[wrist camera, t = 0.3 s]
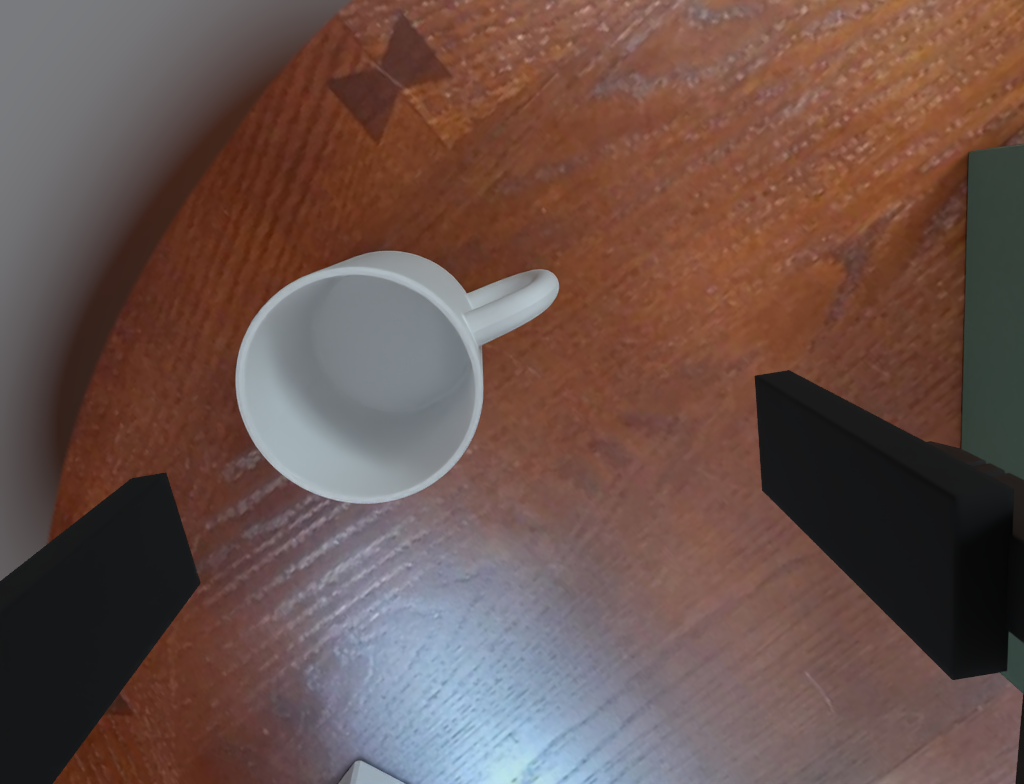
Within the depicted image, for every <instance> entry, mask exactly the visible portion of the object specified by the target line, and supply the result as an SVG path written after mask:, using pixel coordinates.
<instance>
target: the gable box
mask: <svg viewBox="0 0 1024 784" xmlns="http://www.w3.org/2000/svg"><path fill="white" fill-rule="evenodd" d="M338 784H405V783H403V782H401V781H399V780H397V779H395V778H393V777H392V776H390V775H388V774H386V773H384V772H382V771H380V770H378V769H376V768H374V767H372V766H371V765H369V764H367V763H365V762H363V761H361V760H358V761H355V762H354V764H353V765H352V766H351V768H350V769H349V770H348V771H347V773H346V774H345V775H344V777H343V778H342V779H341V781H340V782H339V783H338Z"/></svg>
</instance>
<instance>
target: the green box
mask: <svg viewBox="0 0 1024 784" xmlns="http://www.w3.org/2000/svg"><path fill="white" fill-rule="evenodd" d="M961 449H963V450H965V451H967V452H969V453H971V454H973V455H975V456H977V457H979V458H981V459H983V460H985V461H986V464H988V463H991V464H993V465H995V466H997V467H999V468H1001V469H1003V470H1004V471H1005V474H1006V473H1011V474H1013V475H1015V476H1017V477H1019V478H1021V479H1023V480H1024V144H1019V145H1011V146H1003V147H996V148H989V149H983V150H976V151H971V152H969V161H968V201H967V242H966V282H965V322H964V362H963V402H962V442H961ZM1000 673H1001V674H1002V675H1003V676H1004V677H1005V678H1006V679H1007V680H1009V681H1010V682H1011V683H1012V684H1013V685H1014V686H1015V687H1017V688H1018V689H1019V690H1020V691H1021V692H1022V693H1023V692H1024V643H1023V642H1021V641H1020V640H1019V639H1018V638H1016V637H1015V636H1014V635H1013V634H1011V633H1010V632H1009V637H1008V663H1007V671H1004V672H1000Z"/></svg>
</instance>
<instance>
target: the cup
mask: <svg viewBox="0 0 1024 784" xmlns="http://www.w3.org/2000/svg"><path fill="white" fill-rule="evenodd" d="M558 290H559V283H558V279H557V278H556V276H555V275H554V274H553V273H552V272H550V271H548V270H543V269H536V270H531V271H527V272H523V273H519V274H516V275H513V276H510V277H507V278H505V279H502V280H499V281H497V282H494V283H492V284H489V285H487V286H484V287H482V288H479V289H477V290H474V291H472V292H469V293H466V291H465V290H464V289H463V287H462V286H461V285H460V284H459V282H458V281H457V280H456V279H455V278H454V277H453V276H452V275H451V274H450V273H448V272H447V271H446V270H445V269H443V268H442V267H440V266H439V265H438V264H436V263H434V262H432V261H430V260H428V259H426V258H423V257H421V256H418V255H415V254H411V253H406V252H400V251H377V252H371V253H366V254H363V255H359V256H356V257H353V258H351V259H348V260H345V261H343V262H340V263H337V264H335V265H332V266H330V267H327V268H324V269H322V270H319V271H316V272H314V273H311V274H309V275H306V276H304V277H302V278H299V279H298V280H296V281H294V282H292V283H290V284H289V285H287V286H286V287H284V288H283V289H281V290H280V291H279V292H277V293H276V294H275V295H274V296H273V297H272V298H270V299H269V301H268V302H267V303H266V304H265V305H264V306H263V307H262V308H261V309H260V311H259V312H258V313H257V315H256V316H255V317H254V319H253V321H252V322H251V324H250V326H249V327H248V329H247V332H246V334H245V336H244V338H243V341H242V344H241V347H240V350H239V354H238V359H237V365H236V395H237V401H238V406H239V410H240V413H241V416H242V419H243V422H244V424H245V427H246V429H247V431H248V433H249V435H250V437H251V439H252V440H253V442H254V444H255V445H256V447H257V448H258V450H259V451H260V452H261V453H262V455H263V456H264V457H265V458H266V460H267V461H268V462H269V463H270V464H271V465H272V466H273V467H274V468H275V469H276V470H278V471H279V472H280V473H281V474H282V475H283V476H285V477H286V478H288V479H289V480H290V481H292V482H293V483H295V484H297V485H298V486H300V487H302V488H304V489H306V490H308V491H310V492H312V493H314V494H317V495H320V496H322V497H325V498H329V499H333V500H336V501H342V502H348V503H359V504H368V503H381V502H387V501H393V500H397V499H400V498H404V497H407V496H409V495H412V494H414V493H417V492H418V491H420V490H422V489H424V488H426V487H428V486H429V485H431V484H433V483H434V482H436V481H437V480H438V479H440V478H441V477H442V476H443V475H445V474H446V473H447V472H448V471H449V470H450V469H451V468H452V467H453V466H454V465H455V464H456V462H457V461H458V460H459V459H460V458H461V456H462V455H463V453H464V452H465V450H466V449H467V447H468V445H469V444H470V442H471V440H472V438H473V436H474V433H475V431H476V428H477V425H478V422H479V419H480V415H481V410H482V403H483V363H482V345H483V344H485V343H487V342H489V341H492V340H494V339H496V338H498V337H500V336H502V335H504V334H506V333H508V332H510V331H512V330H514V329H516V328H518V327H520V326H522V325H524V324H525V323H527V322H529V321H530V320H532V319H534V318H535V317H537V316H538V315H540V314H541V313H542V312H544V311H545V310H546V309H547V308H548V307H549V306H550V305H551V304H552V303H553V301H554V300H555V298H556V297H557V295H558Z"/></svg>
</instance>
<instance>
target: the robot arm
mask: <svg viewBox="0 0 1024 784" xmlns="http://www.w3.org/2000/svg"><path fill="white" fill-rule="evenodd" d="M755 387H756V402H757V418H758V433H759V448H760V463H761V479H762V491H763V492H764V493H765V494H766V495H768V496H769V497H770V498H771V499H772V500H773V501H774V502H775V503H776V504H777V505H778V506H779V507H780V508H781V509H782V510H783V511H784V512H785V513H786V514H787V515H788V516H789V517H790V518H791V519H792V520H793V521H794V522H795V523H796V524H797V525H798V526H799V527H800V528H801V529H802V530H803V531H804V532H805V533H806V534H807V535H808V536H809V537H810V538H811V539H812V540H813V541H814V542H815V543H816V544H817V545H818V546H819V547H820V548H821V549H822V550H823V551H824V552H825V553H826V554H827V555H828V556H829V557H830V558H831V559H832V560H833V561H834V562H835V563H836V564H837V565H838V566H839V567H840V568H841V569H842V570H843V571H844V572H845V573H846V574H847V575H848V576H849V577H850V578H851V579H852V580H853V581H854V582H855V583H856V584H857V585H858V586H859V587H860V588H861V589H862V590H863V591H864V592H865V593H866V594H867V595H868V596H869V597H870V598H871V599H872V600H873V601H874V602H875V603H876V604H877V605H878V606H879V607H880V608H881V609H882V610H883V611H884V612H885V613H886V614H887V615H888V616H889V617H890V618H891V619H892V620H893V621H894V622H895V623H896V624H897V625H898V626H899V627H900V628H901V629H902V630H903V631H904V632H905V633H906V634H907V635H908V636H909V637H910V638H911V639H912V640H913V641H914V642H915V643H916V644H917V645H918V646H919V647H920V648H921V649H922V650H923V651H924V652H925V653H926V654H927V655H928V656H929V657H930V658H931V659H932V660H933V661H934V662H935V663H936V664H937V665H938V666H939V667H940V668H941V669H942V670H943V671H944V672H945V673H946V674H947V675H948V676H949V677H950V678H951V679H952V680H956V679H962V678H968V677H974V676H980V675H986V674H992V673H998V672H1004V671H1007V663H1008V637H1009V632H1010V633H1011V634H1013V635H1014V636H1015V637H1016V638H1018V639H1019V640H1020V641H1021V642H1023V643H1024V480H1023V479H1021V478H1019V477H1017V476H1015V475H1013V474H1011V473H1006V474H1005V471H1004V470H1003V469H1001V468H999V467H997V466H995V465H993V464H991V463H988V464H986V461H985V460H983V459H981V458H979V457H977V456H975V455H973V454H971V453H969V452H967V451H965V450H963V449H959V448H955V447H951V446H947V445H943V444H939V443H935V442H925V441H923V440H921V439H919V438H917V437H915V436H913V435H911V434H909V433H907V432H906V431H904V430H902V429H900V428H898V427H896V426H894V425H892V424H890V423H888V422H886V421H885V420H883V419H881V418H879V417H877V416H875V415H873V414H871V413H869V412H867V411H866V410H864V409H862V408H860V407H858V406H856V405H854V404H852V403H850V402H848V401H846V400H845V399H843V398H841V397H839V396H837V395H835V394H833V393H831V392H829V391H827V390H826V389H824V388H822V387H820V386H818V385H816V384H814V383H812V382H810V381H808V380H806V379H805V378H803V377H801V376H799V375H797V374H795V373H793V372H791V371H789V370H788V371H782V372H776V373H770V374H763V375H757V376H755ZM199 585H200V580H199V577H198V573H197V570H196V567H195V564H194V561H193V557H192V554H191V551H190V548H189V544H188V541H187V538H186V535H185V532H184V528H183V525H182V522H181V519H180V515H179V512H178V509H177V506H176V503H175V499H174V496H173V493H172V490H171V487H170V483H169V480H168V477H167V474H166V473H161V474H155V475H149V476H143V477H137V478H132V479H130V480H129V481H128V482H126V483H125V484H124V485H123V486H121V487H120V488H119V489H118V490H116V491H115V492H114V493H112V494H111V495H110V496H109V497H107V498H106V499H105V500H103V501H102V502H101V503H100V504H98V505H97V506H96V507H95V508H93V509H92V510H91V511H89V512H88V513H87V514H86V515H84V516H83V517H82V518H80V519H79V520H78V521H77V522H75V523H74V524H73V525H72V526H70V527H69V528H68V529H66V530H65V531H64V532H63V533H61V534H60V535H59V536H57V537H56V538H55V539H54V540H52V541H51V542H50V543H49V544H47V545H46V546H45V547H43V548H42V549H41V550H40V551H38V552H37V553H36V554H34V555H33V556H32V557H31V558H30V559H28V560H27V561H26V562H24V563H23V564H22V565H21V566H19V567H18V568H17V569H15V570H14V571H13V572H12V573H10V574H9V575H8V576H6V577H5V578H4V579H3V580H1V581H0V784H53V782H54V781H55V780H56V778H57V777H58V776H59V774H60V773H61V771H62V770H63V769H64V767H65V766H66V765H67V763H68V762H69V761H70V759H71V758H72V757H73V755H74V754H75V752H76V751H77V750H78V748H79V747H80V746H81V744H82V743H83V742H84V740H85V739H86V738H87V736H88V735H89V734H90V732H91V731H92V729H93V728H94V727H95V725H96V724H97V723H98V721H99V720H100V719H101V717H102V716H103V715H104V713H105V712H106V711H107V709H108V708H109V706H110V705H111V704H112V702H113V701H114V700H115V698H116V697H117V696H118V694H119V693H120V692H121V690H122V689H123V687H124V686H125V685H126V683H127V682H128V681H129V679H130V678H131V677H132V675H133V674H134V673H135V671H136V670H137V669H138V667H139V666H140V664H141V663H142V662H143V660H144V659H145V658H146V656H147V655H148V654H149V652H150V651H151V650H152V648H153V647H154V645H155V644H156V643H157V641H158V640H159V639H160V637H161V636H162V635H163V633H164V632H165V631H166V629H167V628H168V627H169V625H170V624H171V622H172V621H173V620H174V618H175V617H176V616H177V614H178V613H179V612H180V610H181V609H182V608H183V606H184V605H185V603H186V602H187V601H188V599H189V598H190V597H191V595H192V594H193V593H194V591H195V590H196V589H197V587H198V586H199ZM1016 784H1024V692H1023V704H1022V716H1021V727H1020V739H1019V750H1018V762H1017V773H1016Z"/></svg>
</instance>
